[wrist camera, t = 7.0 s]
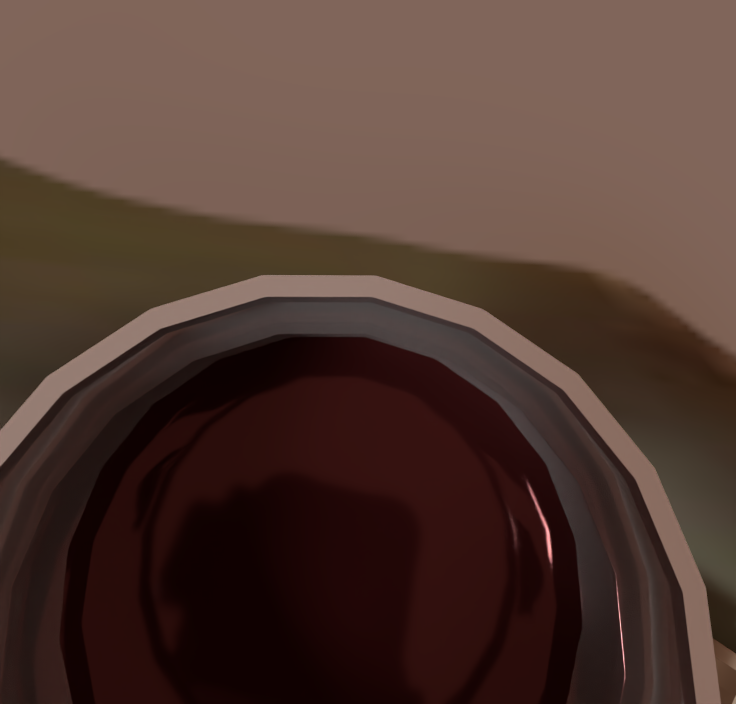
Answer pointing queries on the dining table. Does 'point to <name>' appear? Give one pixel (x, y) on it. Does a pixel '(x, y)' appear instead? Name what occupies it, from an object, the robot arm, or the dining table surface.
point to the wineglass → (336, 516)
